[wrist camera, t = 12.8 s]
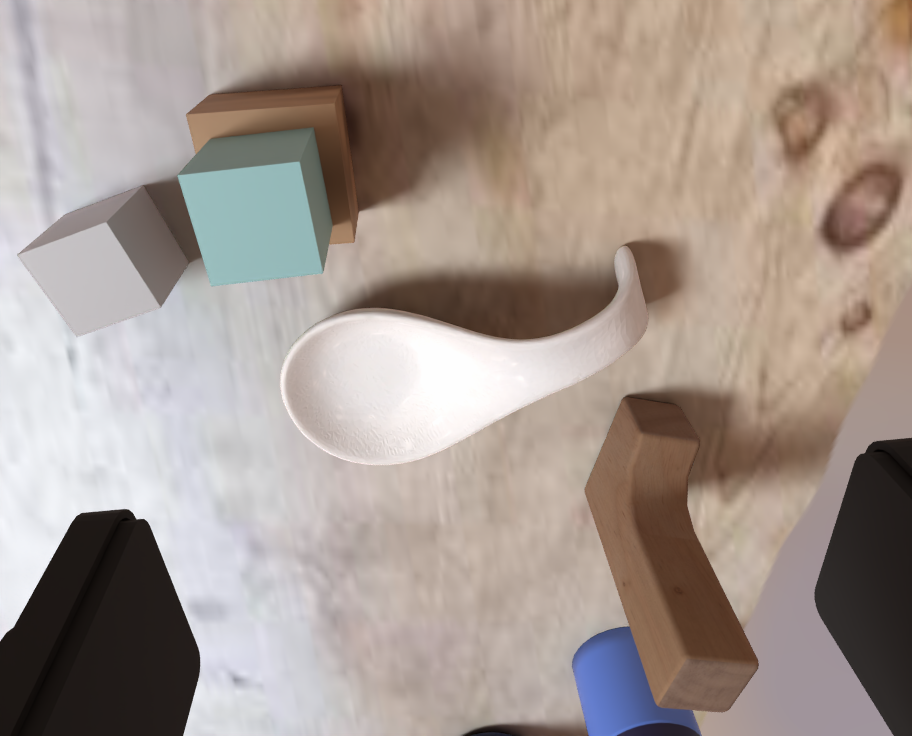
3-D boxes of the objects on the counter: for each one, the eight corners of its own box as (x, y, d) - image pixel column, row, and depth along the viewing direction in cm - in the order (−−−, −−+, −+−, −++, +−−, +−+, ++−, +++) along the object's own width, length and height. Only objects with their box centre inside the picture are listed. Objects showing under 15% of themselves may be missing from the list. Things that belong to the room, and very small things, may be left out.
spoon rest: (336, 455, 51) (327, 526, 45) (254, 322, 45) (231, 383, 39) (653, 342, 48) (690, 402, 41) (610, 183, 42) (647, 226, 35)
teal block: (209, 138, 34) (177, 175, 29) (313, 127, 34) (299, 161, 29) (236, 237, 36) (211, 286, 31) (332, 226, 36) (323, 273, 31)
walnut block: (210, 93, 37) (186, 114, 33) (341, 84, 38) (334, 103, 33) (239, 220, 41) (220, 253, 37) (358, 210, 41) (354, 242, 37)
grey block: (65, 214, 40) (16, 255, 35) (143, 184, 39) (106, 222, 34) (115, 289, 43) (76, 337, 38) (189, 262, 42) (160, 307, 37)
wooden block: (621, 393, 49) (722, 600, 34) (680, 403, 50) (804, 609, 35) (581, 489, 54) (654, 710, 38) (636, 497, 55) (728, 716, 39)
